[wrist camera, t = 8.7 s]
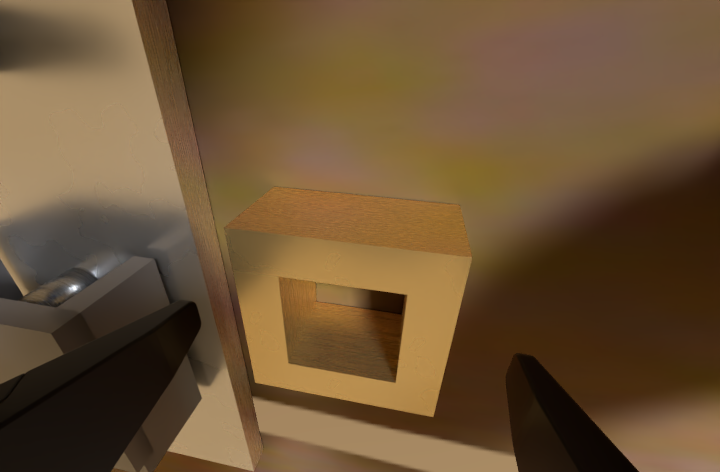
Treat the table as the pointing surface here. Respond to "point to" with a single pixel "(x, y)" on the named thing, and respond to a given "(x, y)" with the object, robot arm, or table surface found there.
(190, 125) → the pin plate
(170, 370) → the robot arm
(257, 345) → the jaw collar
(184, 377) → the box
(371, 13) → the table surface
